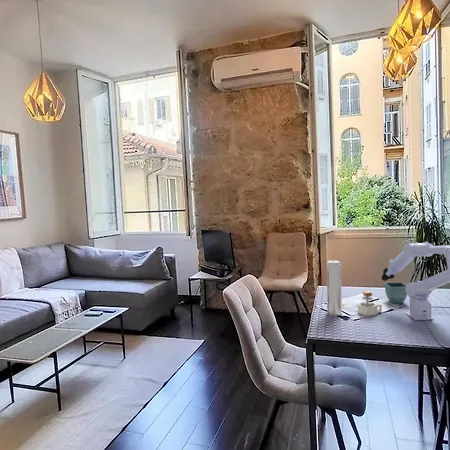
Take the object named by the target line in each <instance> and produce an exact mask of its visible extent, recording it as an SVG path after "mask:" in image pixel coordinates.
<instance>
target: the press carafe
mask: <svg viewBox="0 0 450 450" xmlns="http://www.w3.org/2000/svg"><path fill="white" fill-rule="evenodd" d="M363 302H364V301H361V302H359V303H357V312H358V313H359V314H360V315H364V316H375V315H377V314H378V313H380V312H381V313H382V312H383V309H382V308H383V307H382V304H381V303H379V304H377V303H376V302H370V301H369V302H370V303H373V305H372V306H364V305H362V303H363Z"/></svg>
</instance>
